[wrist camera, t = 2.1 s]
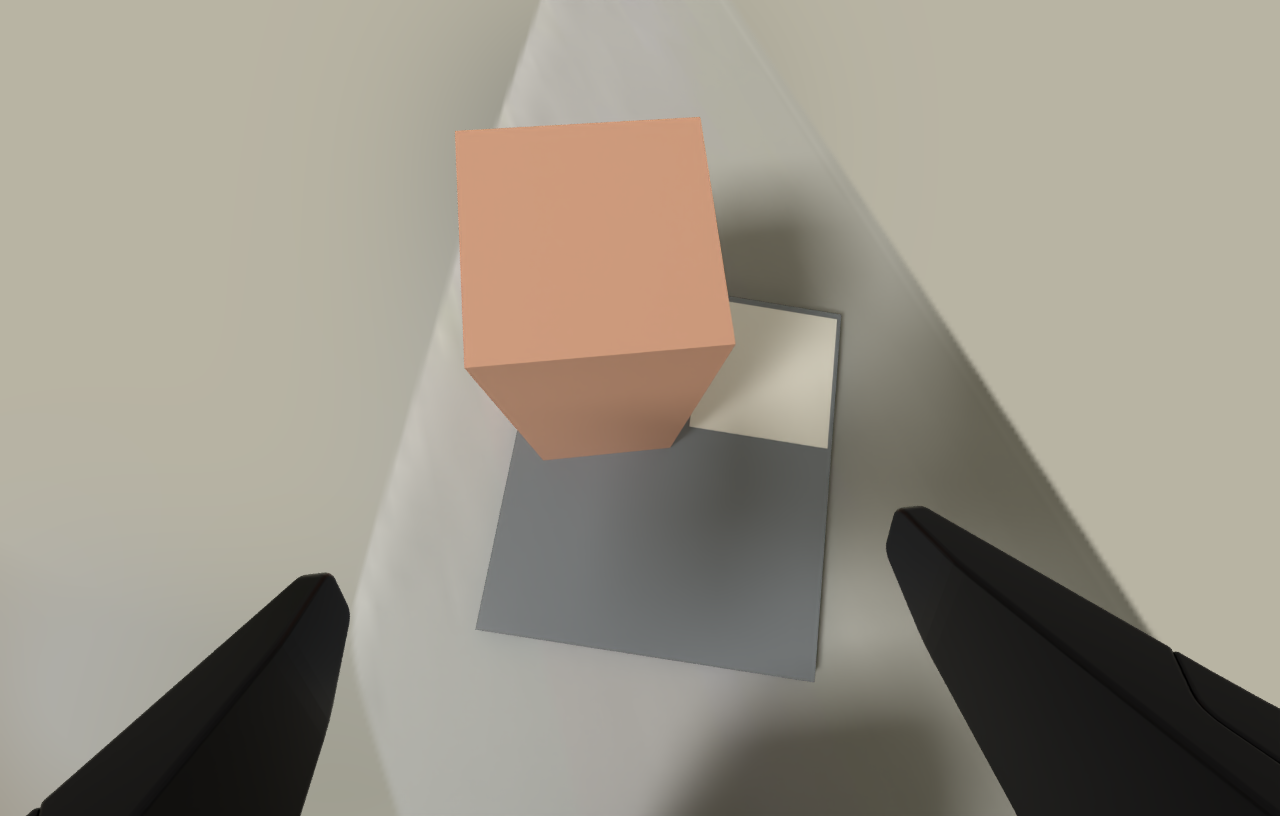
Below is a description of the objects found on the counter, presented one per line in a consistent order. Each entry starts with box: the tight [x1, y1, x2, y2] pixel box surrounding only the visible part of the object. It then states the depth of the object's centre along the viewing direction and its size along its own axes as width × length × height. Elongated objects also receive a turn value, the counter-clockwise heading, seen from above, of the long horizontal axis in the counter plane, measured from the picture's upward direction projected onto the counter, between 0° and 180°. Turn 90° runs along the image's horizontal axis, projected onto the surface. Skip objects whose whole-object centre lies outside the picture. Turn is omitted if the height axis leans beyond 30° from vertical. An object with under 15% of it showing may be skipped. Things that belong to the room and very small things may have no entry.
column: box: [455, 117, 736, 460], centre depth 17 cm, size 5×5×12 cm
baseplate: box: [475, 296, 841, 682], centre depth 22 cm, size 15×12×1 cm
